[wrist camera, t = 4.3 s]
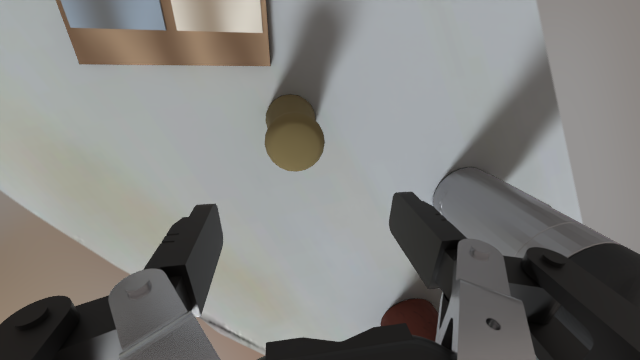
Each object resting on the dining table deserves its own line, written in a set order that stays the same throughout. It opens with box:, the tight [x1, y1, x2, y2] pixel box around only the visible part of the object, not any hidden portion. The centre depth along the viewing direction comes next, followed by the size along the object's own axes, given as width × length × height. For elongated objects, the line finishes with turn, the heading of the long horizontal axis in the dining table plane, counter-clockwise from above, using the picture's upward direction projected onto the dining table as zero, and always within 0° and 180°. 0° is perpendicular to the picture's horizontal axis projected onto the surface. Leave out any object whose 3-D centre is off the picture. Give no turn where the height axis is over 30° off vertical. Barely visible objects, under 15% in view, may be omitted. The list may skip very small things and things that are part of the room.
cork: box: [265, 94, 325, 171], centre depth 25 cm, size 6×6×11 cm
